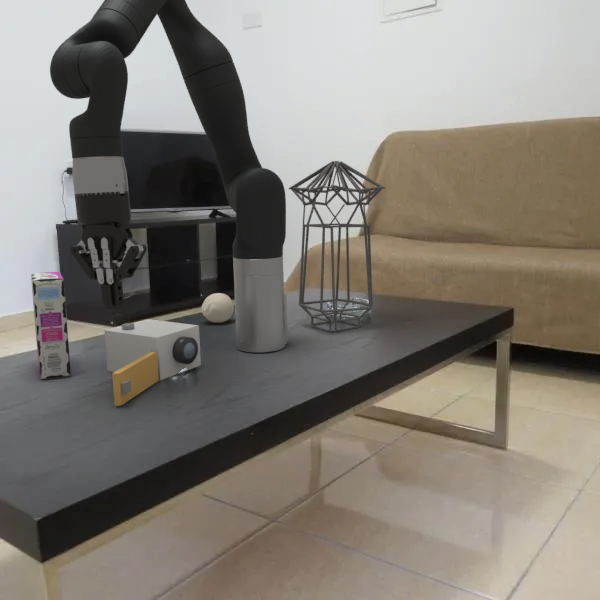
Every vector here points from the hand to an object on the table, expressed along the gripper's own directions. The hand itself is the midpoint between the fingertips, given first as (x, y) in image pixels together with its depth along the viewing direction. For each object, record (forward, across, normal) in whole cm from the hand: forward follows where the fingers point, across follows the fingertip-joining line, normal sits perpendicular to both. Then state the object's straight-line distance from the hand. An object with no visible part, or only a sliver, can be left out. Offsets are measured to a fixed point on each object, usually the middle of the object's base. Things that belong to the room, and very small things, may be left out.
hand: (114, 307), depth 96 cm
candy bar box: (+13, -18, +4) cm, 23 cm away
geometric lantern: (+14, +14, +53) cm, 57 cm away
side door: (+13, +4, -1) cm, 13 cm away
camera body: (+13, -3, +12) cm, 18 cm away
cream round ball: (+14, -13, +47) cm, 51 cm away
